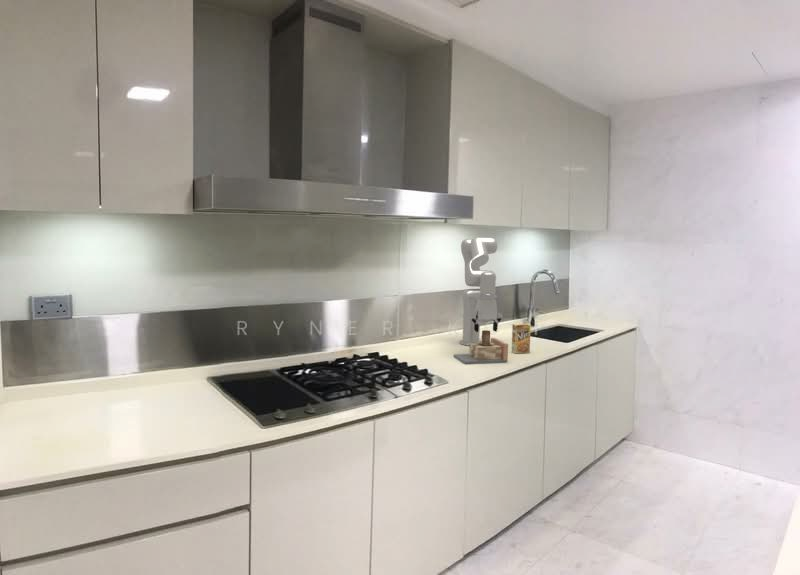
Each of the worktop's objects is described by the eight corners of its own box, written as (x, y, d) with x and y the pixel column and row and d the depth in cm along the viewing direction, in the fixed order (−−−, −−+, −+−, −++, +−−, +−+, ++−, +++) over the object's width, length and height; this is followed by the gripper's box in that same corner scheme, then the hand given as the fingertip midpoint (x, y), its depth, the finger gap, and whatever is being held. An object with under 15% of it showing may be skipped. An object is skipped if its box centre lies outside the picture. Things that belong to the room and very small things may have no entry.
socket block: (469, 354, 255) (469, 343, 255) (491, 353, 258) (491, 342, 257) (478, 360, 244) (478, 347, 243) (501, 359, 246) (501, 347, 246)
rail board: (453, 356, 255) (454, 338, 255) (493, 355, 261) (494, 337, 260) (464, 364, 240) (465, 345, 239) (507, 362, 245) (508, 343, 244)
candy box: (515, 353, 265) (516, 325, 264) (511, 352, 269) (512, 323, 268) (529, 353, 268) (531, 324, 266) (525, 351, 272) (526, 323, 270)
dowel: (480, 354, 252) (480, 330, 251) (487, 353, 253) (488, 330, 252) (483, 355, 248) (484, 331, 247) (490, 355, 249) (491, 331, 248)
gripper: (500, 296, 254) (498, 329, 256) (467, 296, 250) (466, 330, 252) (506, 298, 247) (505, 332, 249) (473, 298, 243) (472, 333, 245)
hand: (485, 331), depth 250 cm, fingers open, 9 cm apart
